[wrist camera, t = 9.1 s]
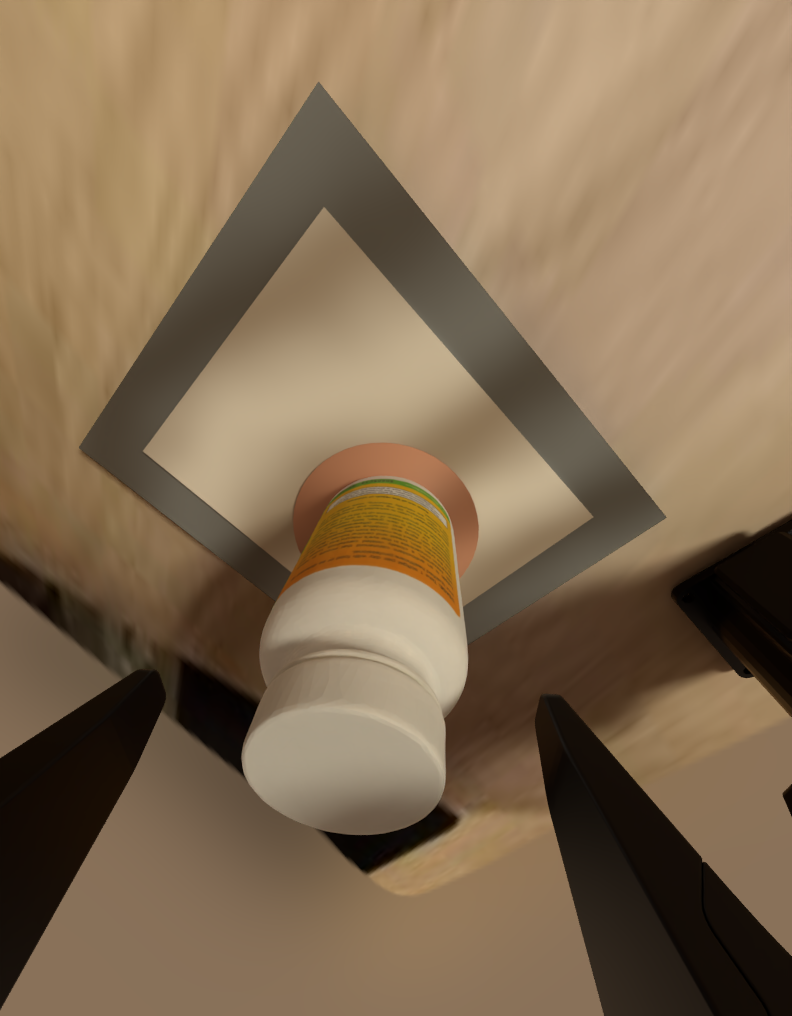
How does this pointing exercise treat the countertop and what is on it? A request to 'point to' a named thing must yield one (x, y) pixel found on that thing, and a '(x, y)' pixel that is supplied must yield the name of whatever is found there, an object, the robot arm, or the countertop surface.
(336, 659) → the supplement bottle
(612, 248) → the countertop surface
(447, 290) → the grey bordered rectangular panel
